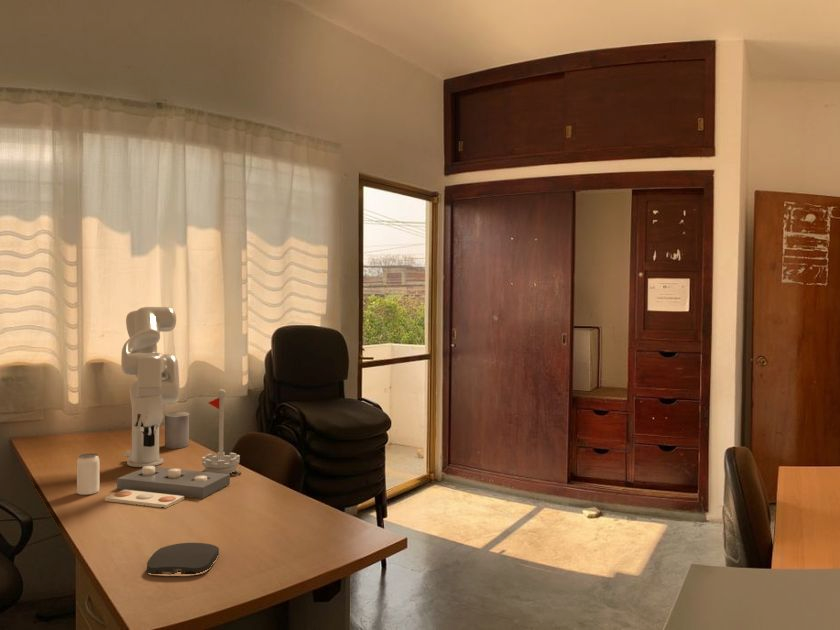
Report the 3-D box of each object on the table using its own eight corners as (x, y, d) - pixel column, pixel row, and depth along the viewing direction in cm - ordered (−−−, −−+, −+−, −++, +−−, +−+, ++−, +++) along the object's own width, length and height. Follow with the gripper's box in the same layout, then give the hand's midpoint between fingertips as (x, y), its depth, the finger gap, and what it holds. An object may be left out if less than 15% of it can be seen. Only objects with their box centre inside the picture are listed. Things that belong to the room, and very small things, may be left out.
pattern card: (104, 500, 203) (104, 497, 203) (124, 492, 212) (124, 488, 212) (166, 508, 197) (166, 504, 197) (184, 499, 206) (184, 495, 206)
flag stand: (244, 467, 245) (245, 387, 244) (231, 476, 232) (232, 392, 231) (211, 465, 246) (211, 386, 246) (195, 475, 233) (196, 391, 233)
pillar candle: (165, 443, 279) (165, 409, 279) (189, 442, 282) (189, 408, 281) (163, 449, 270) (163, 413, 269) (188, 448, 273) (188, 412, 272)
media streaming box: (222, 553, 165) (222, 541, 165) (205, 578, 151) (205, 565, 151) (164, 553, 165) (164, 541, 165) (141, 578, 150) (141, 565, 150)
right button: (191, 488, 215) (191, 478, 215) (198, 484, 219) (199, 475, 219) (202, 489, 214) (202, 479, 214) (209, 485, 218) (209, 476, 218)
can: (90, 496, 207) (90, 458, 207) (72, 494, 209) (72, 457, 208) (103, 490, 214) (103, 453, 213) (86, 488, 215) (86, 452, 214)
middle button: (165, 480, 218) (165, 471, 217) (172, 477, 221) (172, 468, 221) (175, 481, 217) (176, 472, 216) (183, 478, 220) (183, 469, 220)
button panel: (117, 488, 215) (117, 478, 215) (148, 476, 231) (148, 466, 231) (202, 498, 207) (203, 487, 207) (229, 484, 223) (229, 474, 223)
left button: (139, 477, 220) (139, 468, 220) (147, 474, 224) (147, 465, 224) (149, 478, 219) (150, 469, 219) (157, 475, 223) (157, 466, 223)
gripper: (154, 388, 229) (153, 440, 229) (124, 394, 214) (124, 450, 215) (172, 389, 227) (172, 442, 227) (144, 396, 212) (144, 452, 213)
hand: (149, 445), depth 221 cm, fingers closed
